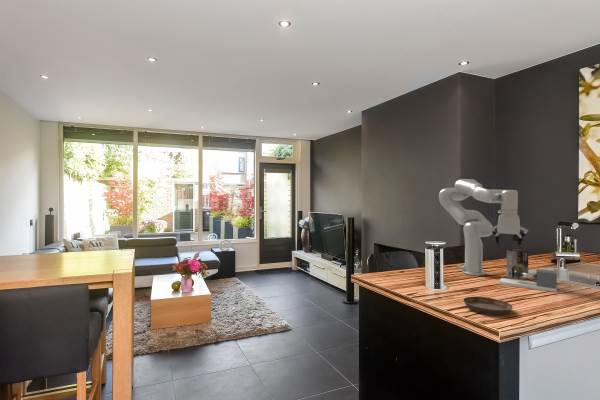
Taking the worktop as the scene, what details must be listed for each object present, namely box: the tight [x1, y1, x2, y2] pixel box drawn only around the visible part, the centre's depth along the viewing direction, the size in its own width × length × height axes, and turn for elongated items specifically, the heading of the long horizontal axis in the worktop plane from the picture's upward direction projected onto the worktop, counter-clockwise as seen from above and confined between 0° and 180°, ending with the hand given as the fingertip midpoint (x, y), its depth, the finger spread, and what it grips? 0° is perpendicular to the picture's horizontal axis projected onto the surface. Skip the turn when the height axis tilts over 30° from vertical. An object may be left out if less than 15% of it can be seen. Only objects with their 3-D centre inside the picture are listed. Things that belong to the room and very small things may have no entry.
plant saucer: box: [462, 296, 513, 316], centre depth 136 cm, size 18×18×3 cm
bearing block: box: [535, 268, 558, 290], centre depth 168 cm, size 8×8×7 cm
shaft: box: [514, 269, 537, 280], centre depth 173 cm, size 12×5×5 cm, turn 55°
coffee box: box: [505, 248, 529, 280], centre depth 191 cm, size 9×6×16 cm
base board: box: [499, 277, 558, 293], centre depth 173 cm, size 24×10×2 cm, turn 55°
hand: (508, 244), depth 179 cm, fingers open, 9 cm apart
